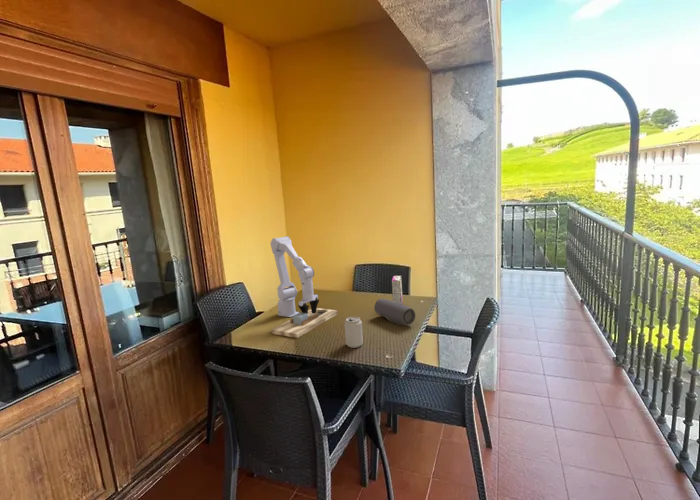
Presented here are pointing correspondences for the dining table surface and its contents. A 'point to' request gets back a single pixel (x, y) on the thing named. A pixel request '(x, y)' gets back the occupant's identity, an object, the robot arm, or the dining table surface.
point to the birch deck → (299, 330)
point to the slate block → (299, 318)
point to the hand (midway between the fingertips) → (309, 315)
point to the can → (353, 332)
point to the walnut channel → (307, 319)
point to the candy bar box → (397, 289)
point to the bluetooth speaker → (395, 311)
